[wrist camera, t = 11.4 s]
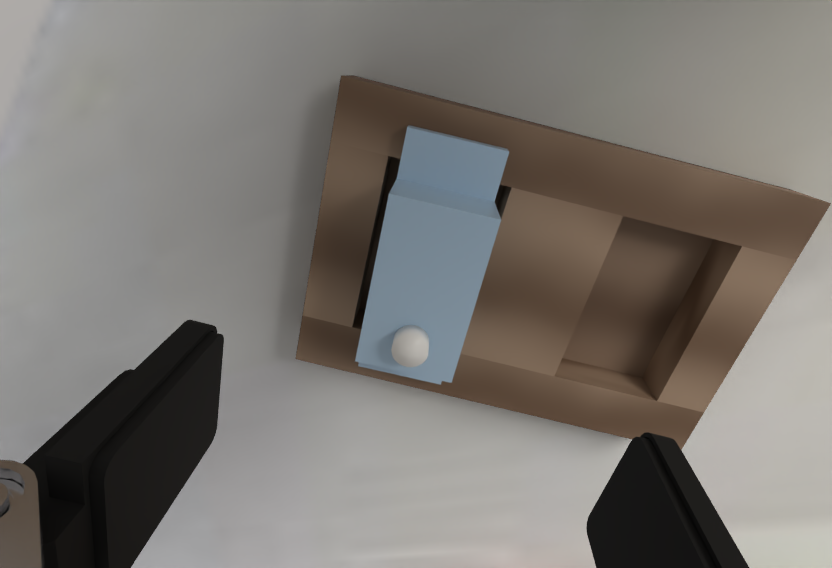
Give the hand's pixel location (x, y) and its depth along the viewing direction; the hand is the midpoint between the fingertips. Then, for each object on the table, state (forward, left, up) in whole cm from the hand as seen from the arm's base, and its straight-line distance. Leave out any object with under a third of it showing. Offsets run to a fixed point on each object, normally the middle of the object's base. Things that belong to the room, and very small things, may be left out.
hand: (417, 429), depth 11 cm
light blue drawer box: (0, 0, -13) cm, 13 cm away
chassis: (0, +5, -14) cm, 15 cm away
